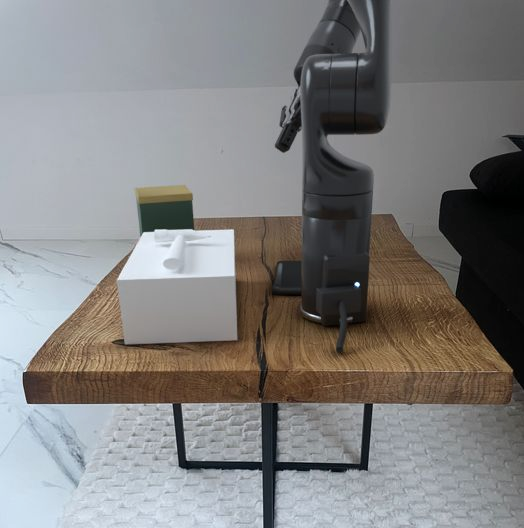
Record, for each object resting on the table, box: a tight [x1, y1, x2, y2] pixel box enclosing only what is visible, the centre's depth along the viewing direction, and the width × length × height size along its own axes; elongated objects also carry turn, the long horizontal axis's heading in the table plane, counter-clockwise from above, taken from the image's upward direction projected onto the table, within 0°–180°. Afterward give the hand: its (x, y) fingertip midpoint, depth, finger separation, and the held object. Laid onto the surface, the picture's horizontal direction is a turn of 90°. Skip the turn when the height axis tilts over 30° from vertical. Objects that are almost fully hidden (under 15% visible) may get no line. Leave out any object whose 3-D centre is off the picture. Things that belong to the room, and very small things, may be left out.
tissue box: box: [116, 228, 238, 345], centre depth 87 cm, size 14×25×11 cm, turn 3°
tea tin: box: [134, 184, 195, 239], centre depth 109 cm, size 9×9×13 cm
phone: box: [272, 260, 301, 296], centre depth 100 cm, size 8×1×15 cm
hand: (281, 149), depth 99 cm, fingers closed
